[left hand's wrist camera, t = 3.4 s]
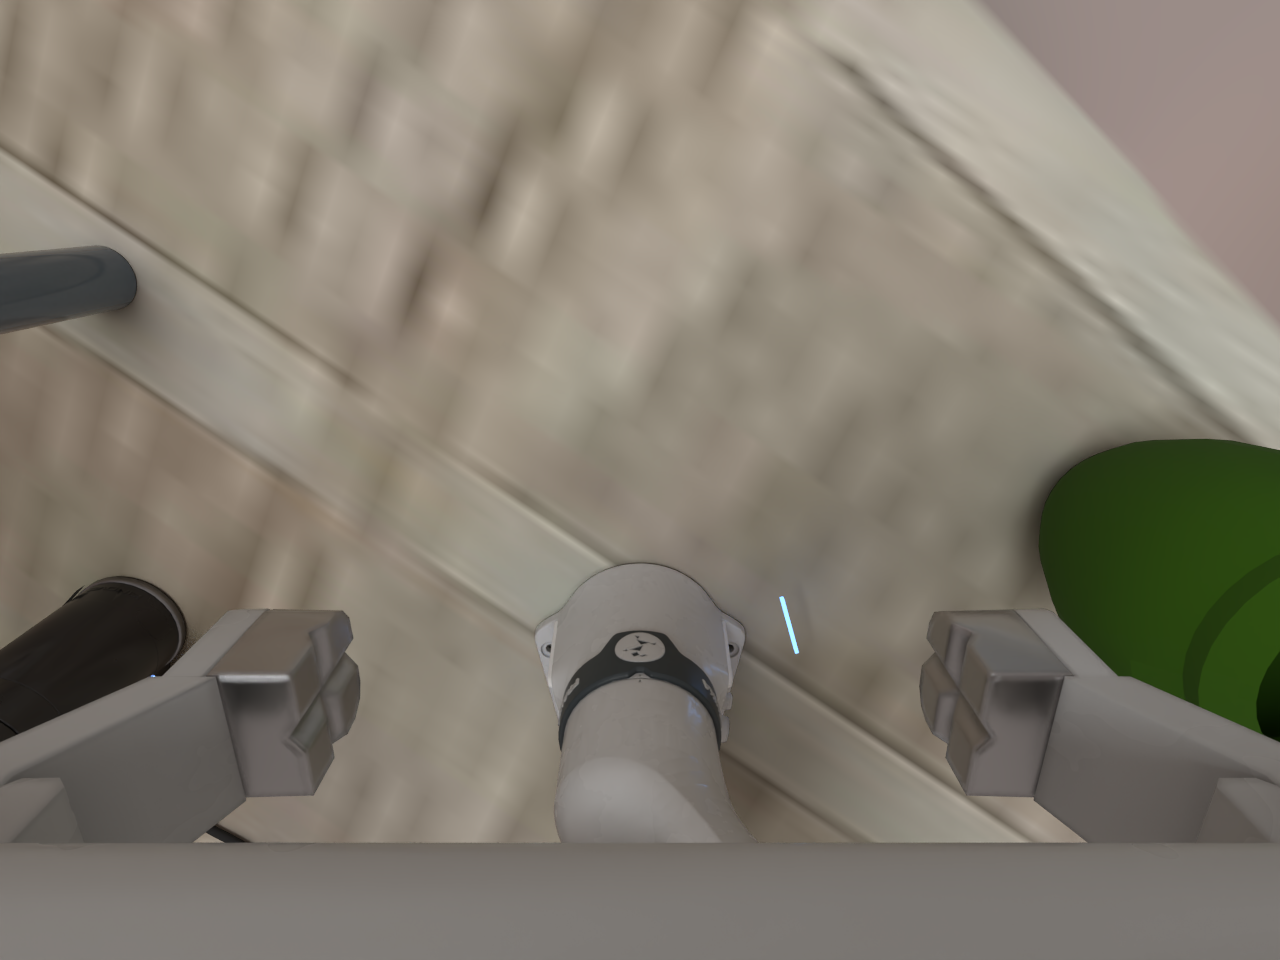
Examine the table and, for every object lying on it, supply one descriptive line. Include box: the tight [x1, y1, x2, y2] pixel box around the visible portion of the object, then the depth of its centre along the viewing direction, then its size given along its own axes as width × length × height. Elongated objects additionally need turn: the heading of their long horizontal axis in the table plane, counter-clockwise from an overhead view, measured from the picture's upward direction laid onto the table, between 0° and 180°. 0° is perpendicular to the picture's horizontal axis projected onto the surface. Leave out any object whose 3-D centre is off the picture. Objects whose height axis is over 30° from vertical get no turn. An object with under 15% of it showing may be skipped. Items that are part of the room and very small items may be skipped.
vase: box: [1039, 439, 1280, 742], centre depth 50 cm, size 20×20×24 cm
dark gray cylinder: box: [0, 246, 136, 335], centre depth 47 cm, size 5×5×18 cm
